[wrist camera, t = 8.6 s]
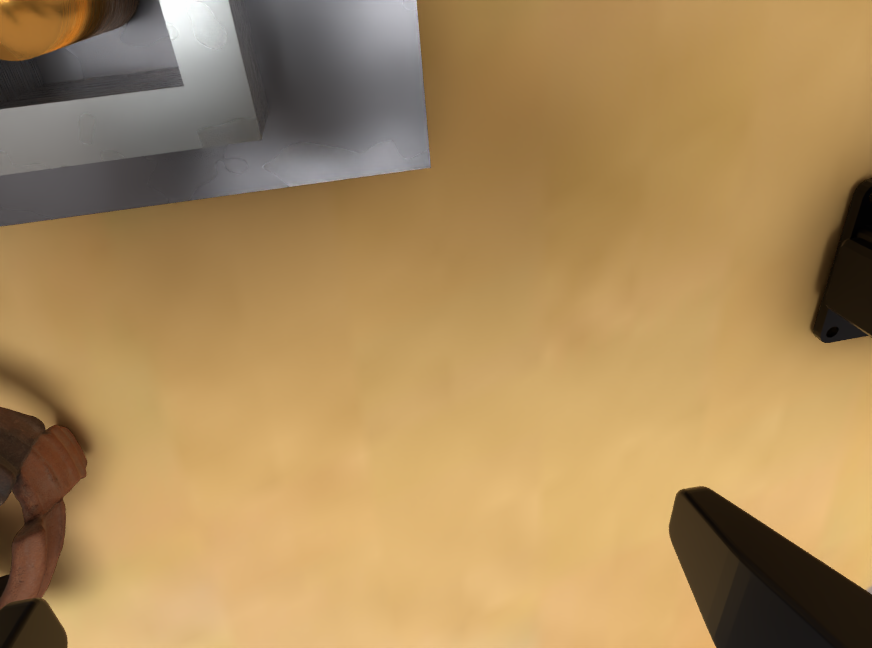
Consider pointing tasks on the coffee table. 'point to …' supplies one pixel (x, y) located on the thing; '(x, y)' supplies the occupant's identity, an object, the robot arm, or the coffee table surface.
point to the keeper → (284, 87)
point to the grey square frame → (140, 98)
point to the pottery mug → (36, 498)
